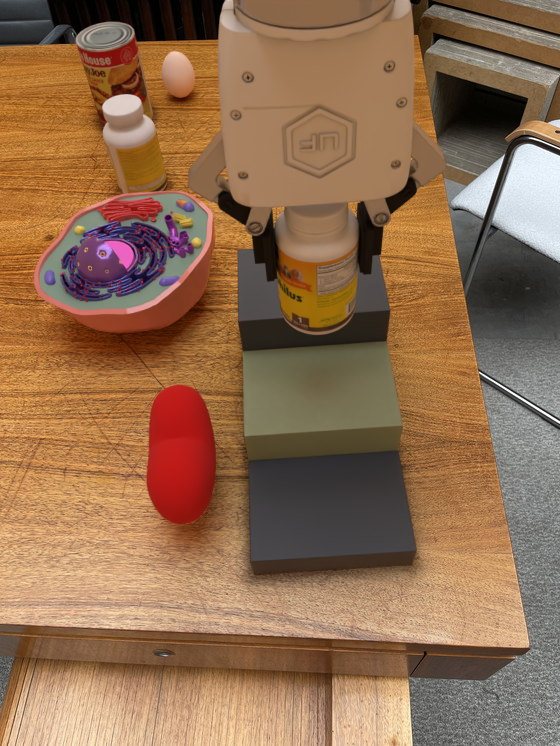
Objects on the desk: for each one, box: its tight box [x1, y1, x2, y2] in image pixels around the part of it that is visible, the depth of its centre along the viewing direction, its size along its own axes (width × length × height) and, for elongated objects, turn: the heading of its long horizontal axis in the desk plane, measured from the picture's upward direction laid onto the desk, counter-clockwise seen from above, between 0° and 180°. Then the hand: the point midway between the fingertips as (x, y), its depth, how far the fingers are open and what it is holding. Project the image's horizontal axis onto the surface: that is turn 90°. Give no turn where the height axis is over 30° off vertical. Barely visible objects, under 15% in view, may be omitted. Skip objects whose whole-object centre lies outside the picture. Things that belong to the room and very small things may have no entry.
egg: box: [161, 50, 196, 99], centre depth 95 cm, size 5×5×7 cm
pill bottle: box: [102, 94, 168, 194], centre depth 80 cm, size 6×6×12 cm
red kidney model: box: [146, 384, 217, 526], centre depth 53 cm, size 12×5×10 cm, turn 4°
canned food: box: [75, 21, 154, 129], centre depth 90 cm, size 8×8×12 cm
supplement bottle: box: [274, 202, 360, 335], centre depth 43 cm, size 6×6×10 cm
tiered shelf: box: [236, 248, 417, 576], centre depth 56 cm, size 13×27×11 cm, turn 3°
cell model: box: [33, 190, 216, 334], centre depth 67 cm, size 17×20×11 cm
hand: (317, 261), depth 43 cm, fingers closed on supplement bottle, 5 cm apart
